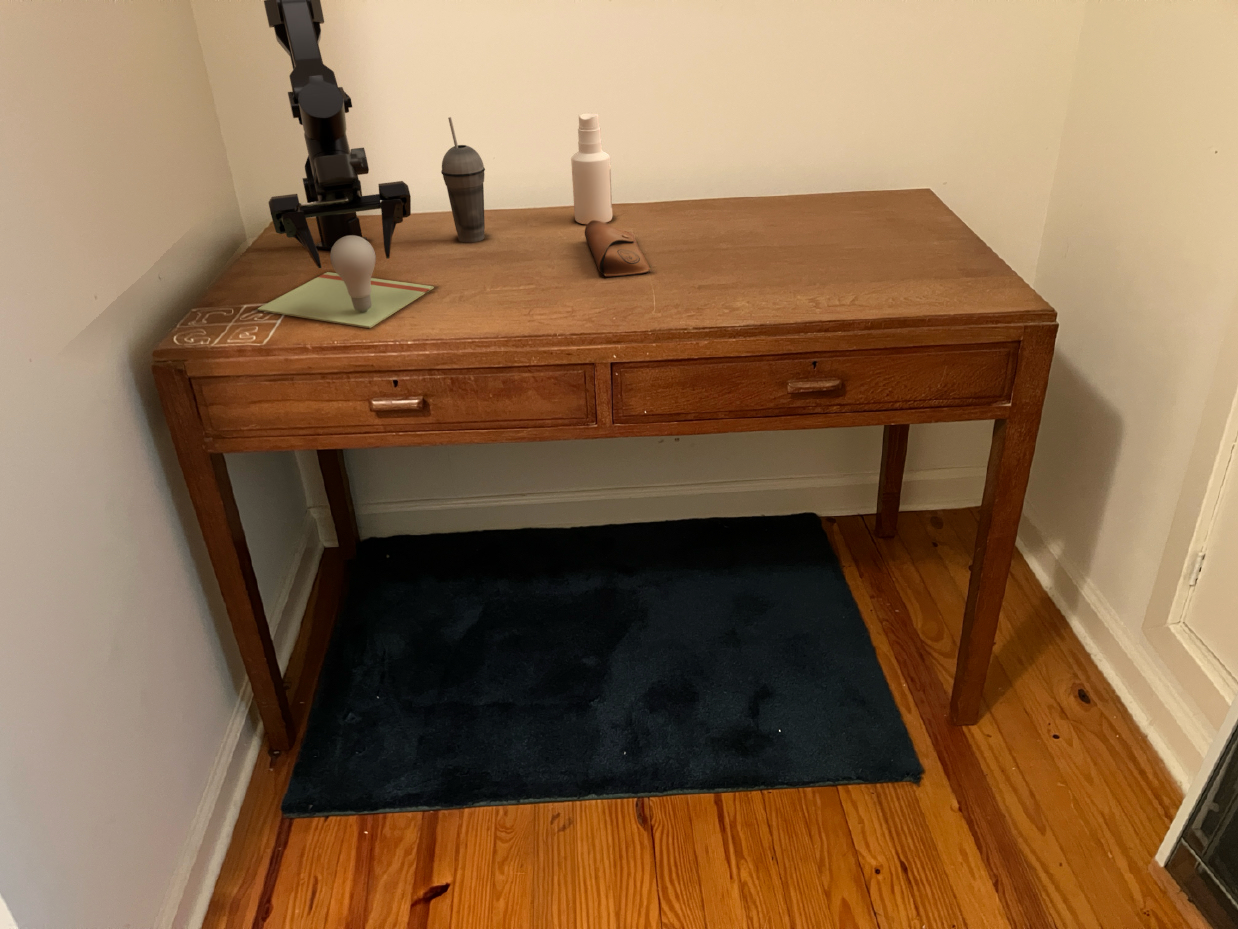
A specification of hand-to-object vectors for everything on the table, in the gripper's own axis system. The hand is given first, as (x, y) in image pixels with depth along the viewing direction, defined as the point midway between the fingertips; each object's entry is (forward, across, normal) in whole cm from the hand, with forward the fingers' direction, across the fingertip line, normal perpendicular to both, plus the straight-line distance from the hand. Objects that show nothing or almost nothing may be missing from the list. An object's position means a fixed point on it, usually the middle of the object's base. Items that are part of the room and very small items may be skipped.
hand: (354, 262), depth 125 cm
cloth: (0, -2, +12) cm, 12 cm away
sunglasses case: (0, +41, +12) cm, 43 cm away
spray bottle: (-15, +44, +26) cm, 53 cm away
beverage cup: (-14, +21, +26) cm, 37 cm away
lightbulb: (+5, 0, +7) cm, 8 cm away
